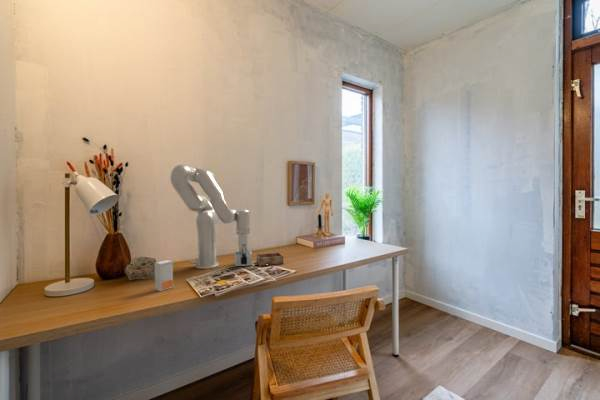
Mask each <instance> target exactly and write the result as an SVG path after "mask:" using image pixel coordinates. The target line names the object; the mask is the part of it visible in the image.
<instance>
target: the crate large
mask: <svg viewBox="0 0 600 400" xmlns="http://www.w3.org/2000/svg"><path fill="white" fill-rule="evenodd" d="M256 263H257V265H258V264H259V265H266V264H268V265H266V266H277V265H283V264H284V255H283V254H281V252H269V253H259V254H256ZM259 265H258V266H259Z"/></svg>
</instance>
